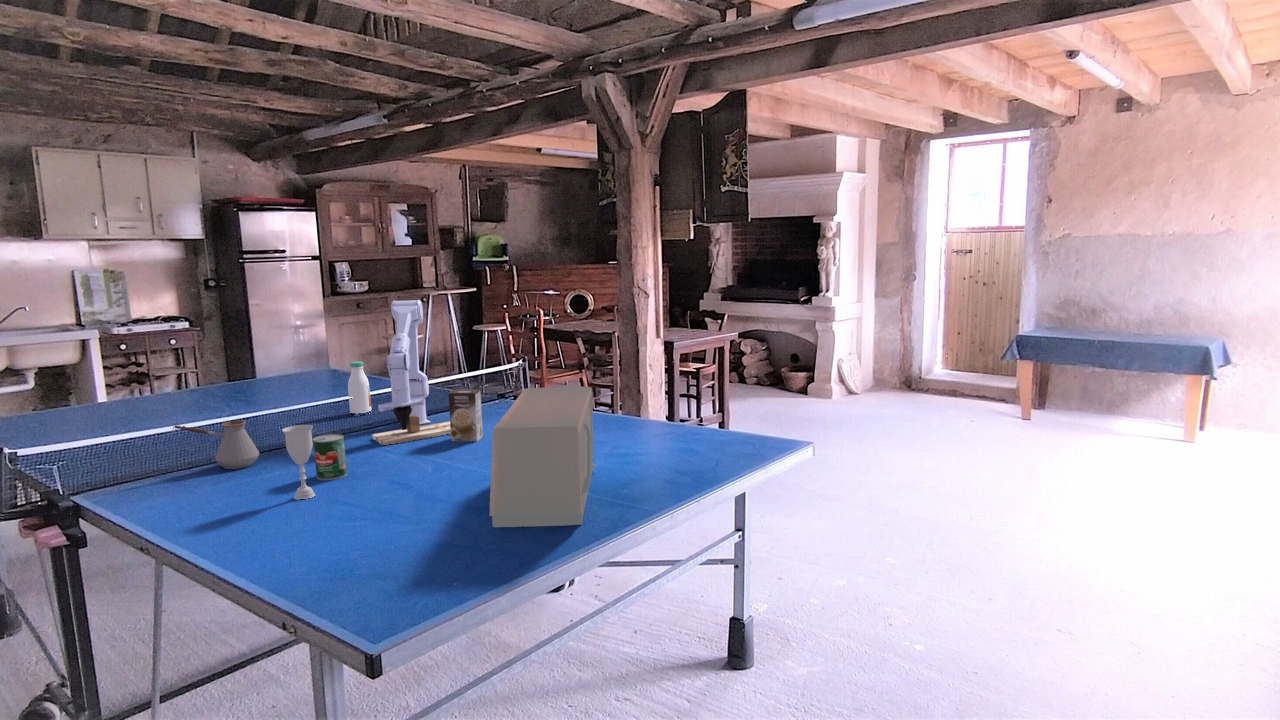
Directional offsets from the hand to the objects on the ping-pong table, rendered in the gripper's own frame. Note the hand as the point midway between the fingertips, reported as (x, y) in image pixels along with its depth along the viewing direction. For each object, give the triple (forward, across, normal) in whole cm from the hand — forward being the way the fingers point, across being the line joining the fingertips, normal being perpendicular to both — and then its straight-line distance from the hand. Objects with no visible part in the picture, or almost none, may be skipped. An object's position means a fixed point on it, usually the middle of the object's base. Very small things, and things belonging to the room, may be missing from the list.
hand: (403, 429), depth 246 cm
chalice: (+3, -40, -42) cm, 58 cm away
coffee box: (+3, +15, -16) cm, 22 cm away
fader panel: (+3, +5, 0) cm, 6 cm away
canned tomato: (+3, -30, -28) cm, 41 cm away
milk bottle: (+3, -1, +48) cm, 48 cm away
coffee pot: (+3, -54, +1) cm, 54 cm away
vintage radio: (+3, +9, -83) cm, 83 cm away
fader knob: (+1, +3, 0) cm, 3 cm away
